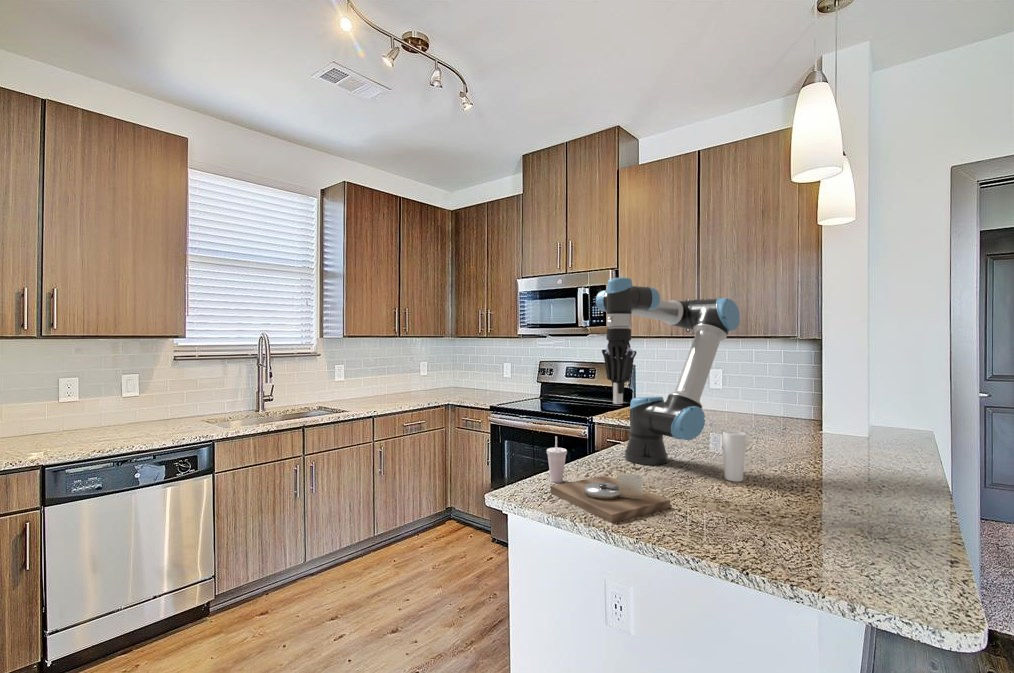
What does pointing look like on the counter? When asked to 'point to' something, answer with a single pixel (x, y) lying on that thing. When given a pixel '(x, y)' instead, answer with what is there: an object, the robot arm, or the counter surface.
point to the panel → (609, 501)
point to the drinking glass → (734, 455)
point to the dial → (617, 488)
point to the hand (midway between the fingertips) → (617, 403)
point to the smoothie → (556, 462)
